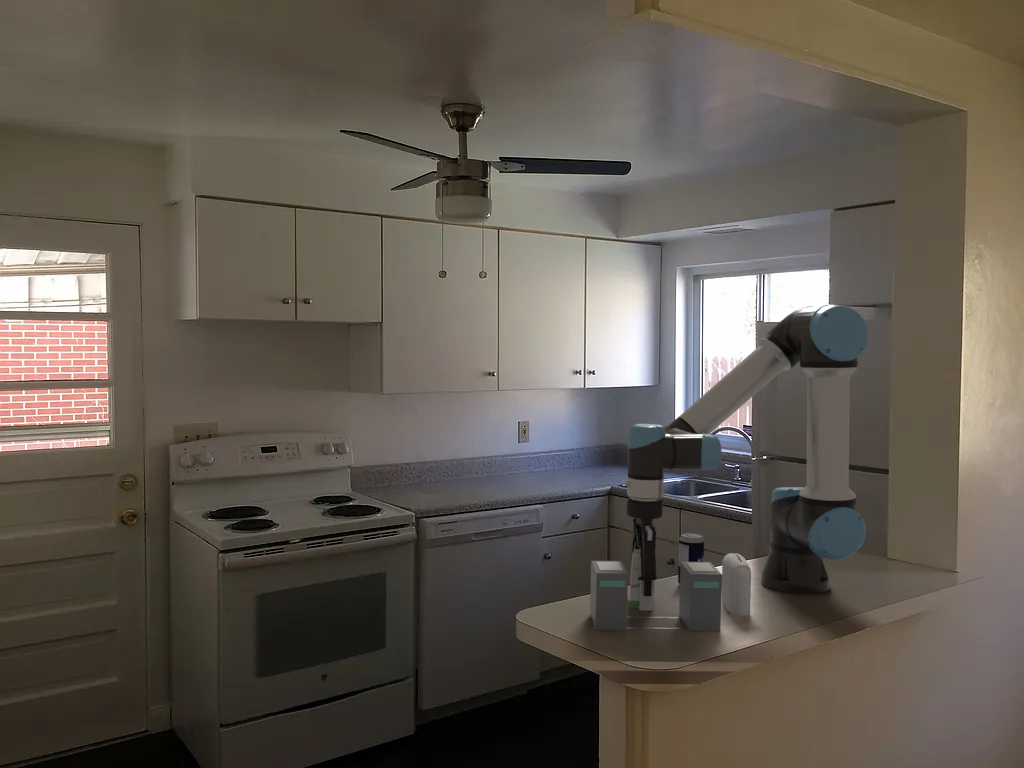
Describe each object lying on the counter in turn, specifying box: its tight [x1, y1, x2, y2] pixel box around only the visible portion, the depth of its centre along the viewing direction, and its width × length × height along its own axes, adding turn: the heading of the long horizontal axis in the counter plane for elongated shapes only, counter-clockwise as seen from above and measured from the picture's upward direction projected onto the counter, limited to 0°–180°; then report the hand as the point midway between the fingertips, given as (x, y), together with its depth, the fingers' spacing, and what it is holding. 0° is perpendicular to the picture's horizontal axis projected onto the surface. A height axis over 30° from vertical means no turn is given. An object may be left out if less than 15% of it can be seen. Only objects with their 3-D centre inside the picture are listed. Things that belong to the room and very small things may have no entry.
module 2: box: [678, 561, 722, 632], centre depth 168 cm, size 6×9×11 cm, turn 1°
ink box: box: [628, 548, 656, 609], centre depth 181 cm, size 9×5×12 cm, turn 169°
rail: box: [588, 615, 722, 631], centre depth 168 cm, size 25×8×1 cm, turn 91°
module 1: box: [589, 560, 629, 631], centre depth 167 cm, size 6×9×11 cm, turn 1°
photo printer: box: [721, 552, 752, 617], centre depth 178 cm, size 10×4×12 cm, turn 0°
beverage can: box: [677, 532, 705, 585], centre depth 197 cm, size 6×6×12 cm
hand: (642, 602), depth 181 cm, fingers closed on ink box, 9 cm apart
